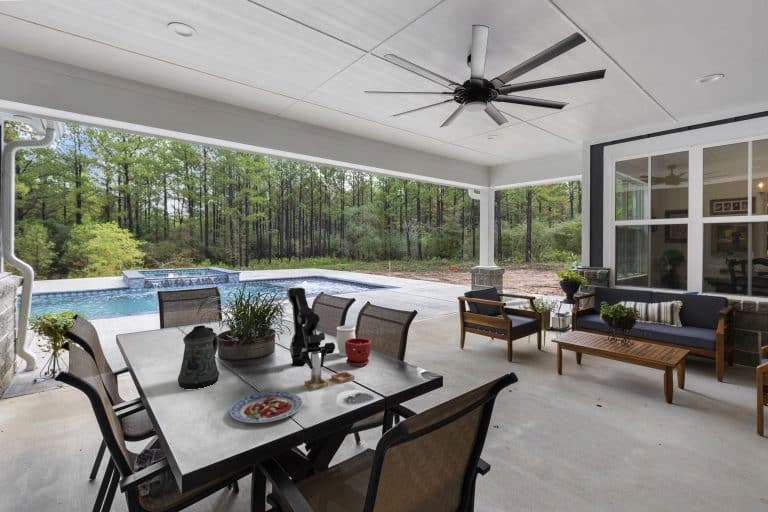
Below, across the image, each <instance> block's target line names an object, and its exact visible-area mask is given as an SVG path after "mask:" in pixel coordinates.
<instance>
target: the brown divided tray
mask: <svg viewBox="0 0 768 512" xmlns="http://www.w3.org/2000/svg"><path fill="white" fill-rule="evenodd" d="M330 376H331V378H327V379H324V378H322V377H321V382H318V383H313V382H311V379H309V380H305V381H304V382H303V383H304V384H303V385H302V386H303V387H304V388H305V389H307V390H308V391H309V392H315V391H319V390H323V389H325V388H331V387H335V386H337V385H342V384H345V383H349V382H354V381H357V379H356V378H355V376H354V375H353V374H352V373H350V372H348V371H343V372H338V373H334V374H333V373H332V374H331V375H330Z"/></svg>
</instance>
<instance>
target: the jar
mask: <svg viewBox="0 0 768 512" xmlns="http://www.w3.org/2000/svg"><path fill="white" fill-rule="evenodd" d="M355 330H356V326H354V325H340V326H337V327H336V331H337V332H336V344H337V350H338V351H339V352H338V355H339V356H340V355H341V356H340V357H347V355H346V350H345V342H346V340H348V339H353V338H356V332H355Z"/></svg>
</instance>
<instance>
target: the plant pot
mask: <svg viewBox="0 0 768 512" xmlns="http://www.w3.org/2000/svg"><path fill="white" fill-rule="evenodd" d="M371 349H372V341H371V339H367V338H362V337H361V338H360V337H359V338H358V337H357V338H356V337H355V338H353V339H348V340H346V342H345V350H346V355H347V356H346V358H347V359H346V360H345V361H346V364H348V365H349V366H352V367H362V366H363V367H364V366H366V365H368V364H369V362H370V359H369V357H370V354H371Z"/></svg>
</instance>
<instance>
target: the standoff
mask: <svg viewBox="0 0 768 512" xmlns="http://www.w3.org/2000/svg"><path fill="white" fill-rule="evenodd" d="M310 361H311V365H312V369H310V380H311V382H313V383H318V382H321V378H322V367H321V352H320V351H319V352H311V353H310Z"/></svg>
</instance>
